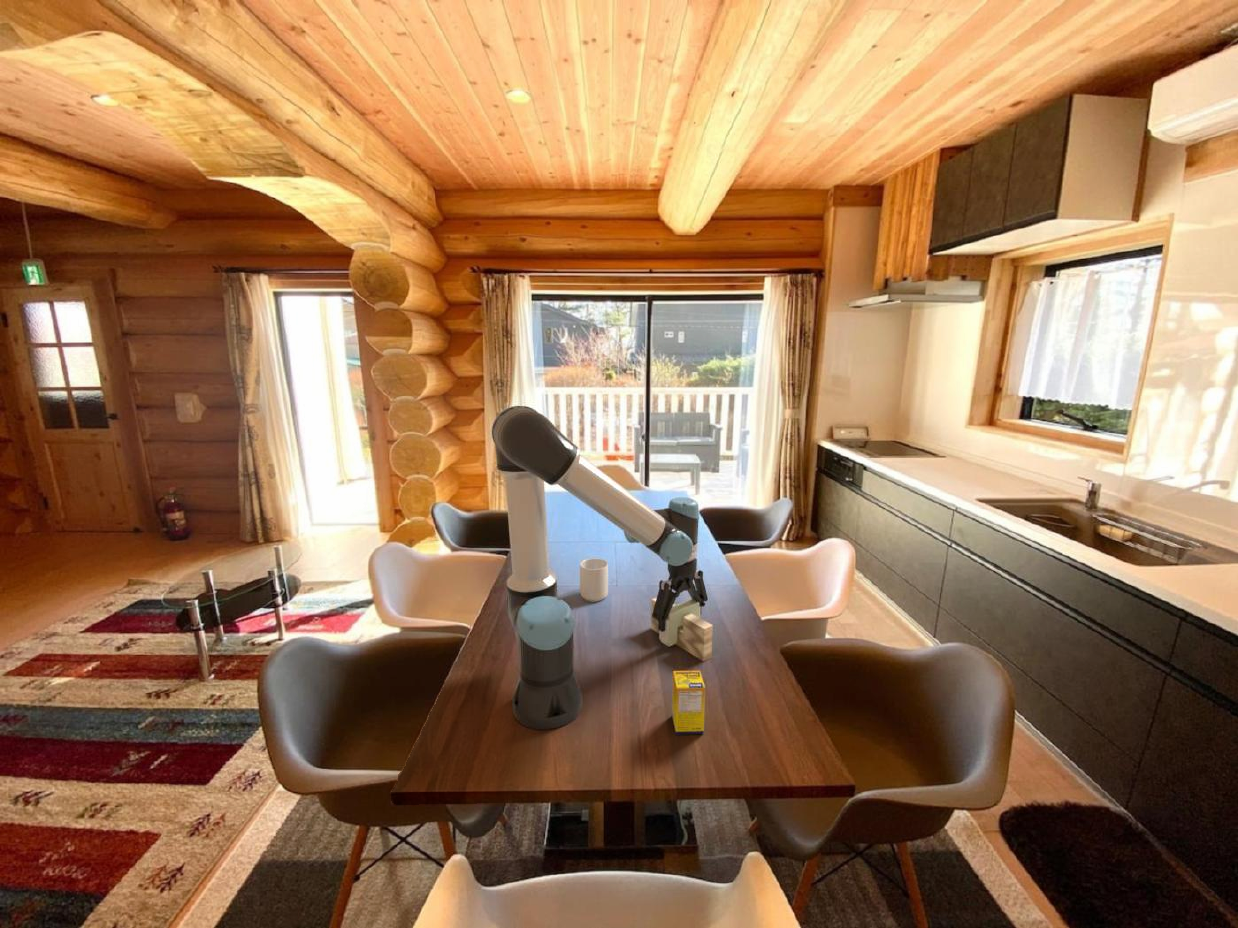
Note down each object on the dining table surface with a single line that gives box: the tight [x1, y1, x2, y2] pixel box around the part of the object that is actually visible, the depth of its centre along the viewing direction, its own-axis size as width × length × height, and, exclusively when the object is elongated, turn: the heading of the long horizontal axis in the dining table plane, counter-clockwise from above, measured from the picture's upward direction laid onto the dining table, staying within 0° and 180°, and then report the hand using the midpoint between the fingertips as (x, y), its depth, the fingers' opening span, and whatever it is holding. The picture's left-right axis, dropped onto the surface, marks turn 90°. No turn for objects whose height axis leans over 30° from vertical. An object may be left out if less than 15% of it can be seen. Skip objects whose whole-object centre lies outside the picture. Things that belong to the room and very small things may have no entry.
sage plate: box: [660, 598, 699, 647], centre depth 138 cm, size 11×3×9 cm, turn 128°
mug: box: [579, 558, 609, 603], centre depth 166 cm, size 12×9×11 cm
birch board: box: [650, 596, 714, 662], centre depth 139 cm, size 20×3×9 cm, turn 38°
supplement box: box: [671, 670, 706, 736], centre depth 107 cm, size 6×6×11 cm
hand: (679, 633), depth 139 cm, fingers closed on sage plate, 11 cm apart
